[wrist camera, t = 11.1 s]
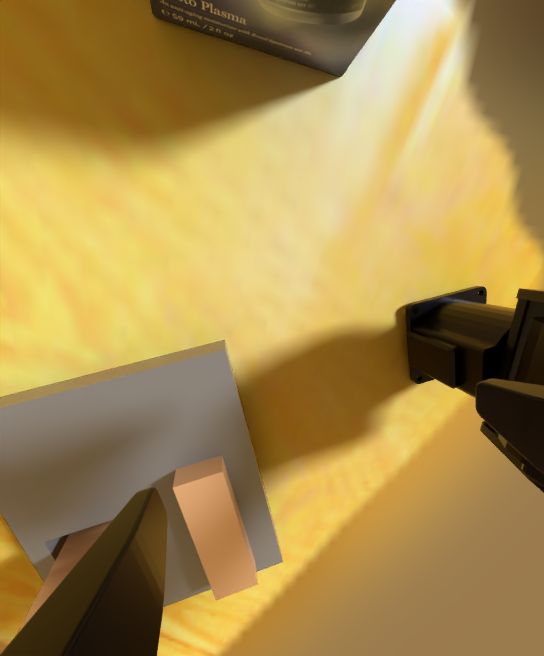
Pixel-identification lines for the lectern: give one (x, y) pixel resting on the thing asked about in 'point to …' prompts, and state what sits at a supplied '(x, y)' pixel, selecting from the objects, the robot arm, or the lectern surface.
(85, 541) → the ochre column
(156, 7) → the small box
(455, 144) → the lectern surface
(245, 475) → the baseplate
